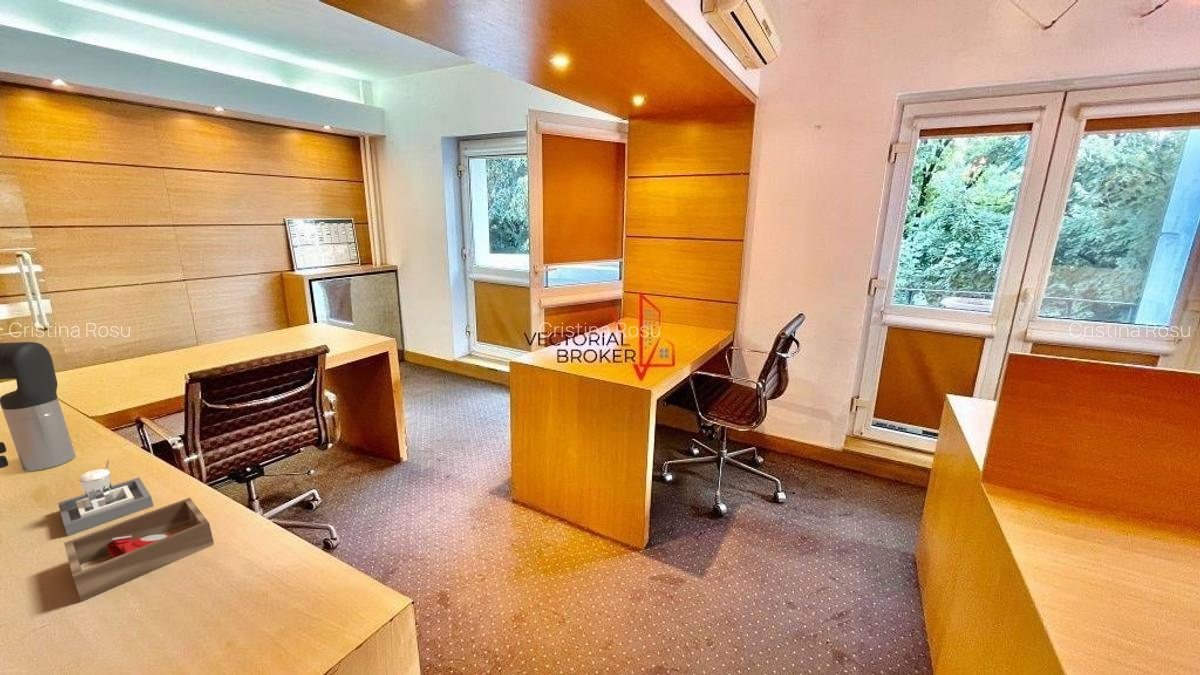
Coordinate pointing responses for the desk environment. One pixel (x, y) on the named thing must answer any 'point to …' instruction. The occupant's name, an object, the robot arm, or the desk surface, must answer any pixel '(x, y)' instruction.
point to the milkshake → (97, 487)
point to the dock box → (104, 507)
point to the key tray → (143, 557)
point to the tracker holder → (130, 543)
